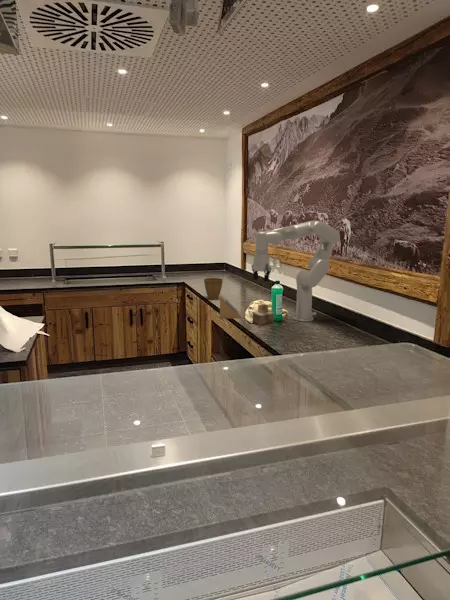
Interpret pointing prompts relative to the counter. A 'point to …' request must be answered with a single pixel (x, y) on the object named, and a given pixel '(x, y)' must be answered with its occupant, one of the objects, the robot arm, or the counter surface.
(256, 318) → the box
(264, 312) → the lid
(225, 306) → the sandwich container
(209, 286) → the plant pot
